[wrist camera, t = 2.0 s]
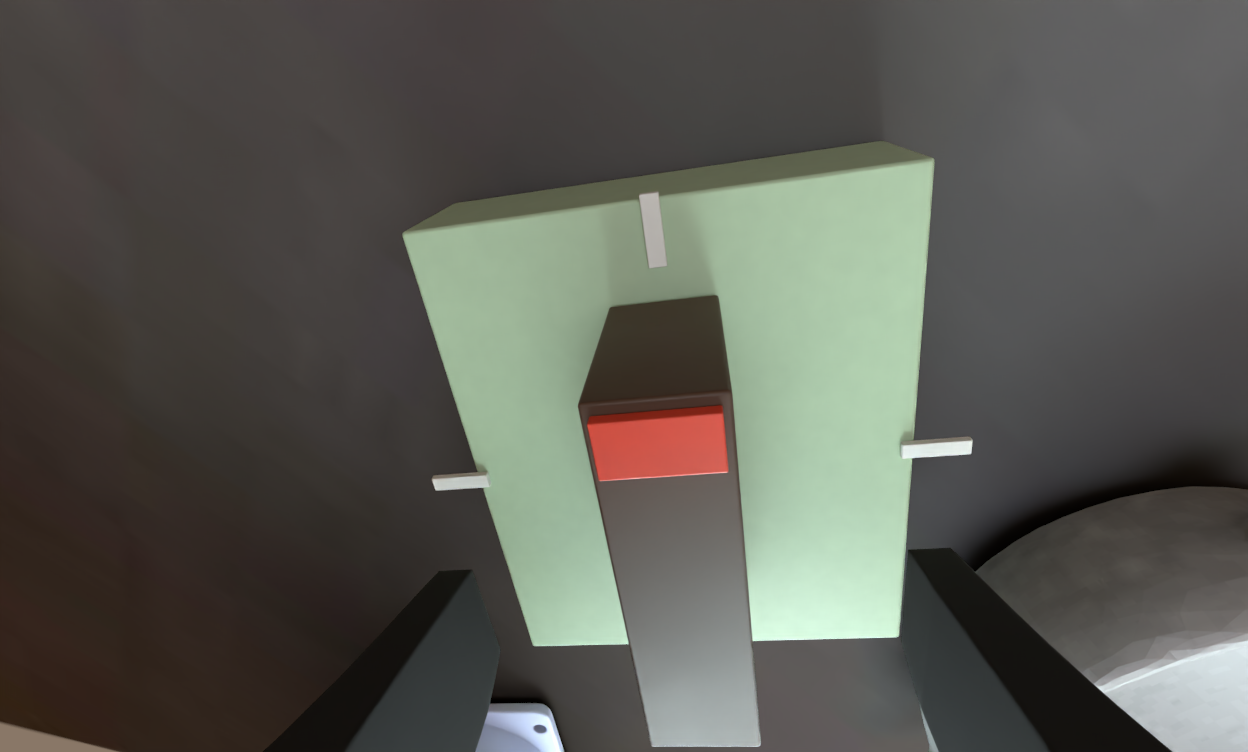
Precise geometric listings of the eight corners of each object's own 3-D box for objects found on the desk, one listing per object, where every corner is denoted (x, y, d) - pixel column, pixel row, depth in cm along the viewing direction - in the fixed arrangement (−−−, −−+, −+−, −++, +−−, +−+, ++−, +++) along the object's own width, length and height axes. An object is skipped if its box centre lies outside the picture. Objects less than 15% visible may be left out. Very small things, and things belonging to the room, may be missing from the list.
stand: (906, 556, 18) (947, 645, 15) (522, 573, 20) (495, 655, 17) (939, 126, 13) (1011, 141, 10) (409, 205, 15) (342, 237, 12)
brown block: (744, 589, 15) (762, 760, 11) (658, 593, 15) (649, 759, 12) (718, 293, 12) (733, 399, 8) (608, 306, 12) (572, 413, 8)
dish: (1178, 374, 15) (1392, 505, 10) (1508, 620, 17) (1797, 813, 13) (795, 675, 21) (825, 837, 16) (1076, 824, 23) (1168, 1001, 19)
